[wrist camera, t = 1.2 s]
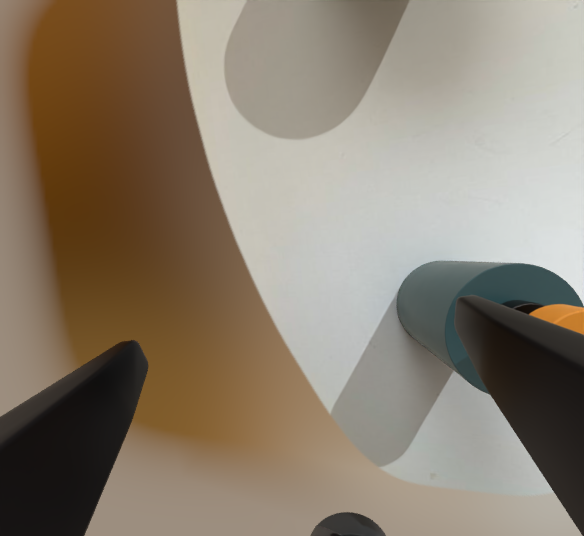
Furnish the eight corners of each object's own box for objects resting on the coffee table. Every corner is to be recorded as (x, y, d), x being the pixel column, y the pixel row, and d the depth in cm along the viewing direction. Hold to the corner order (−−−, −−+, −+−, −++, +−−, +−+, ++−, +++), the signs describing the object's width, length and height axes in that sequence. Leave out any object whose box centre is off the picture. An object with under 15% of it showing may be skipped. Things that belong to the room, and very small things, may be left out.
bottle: (467, 359, 24) (574, 431, 14) (384, 329, 25) (432, 378, 15) (500, 278, 24) (635, 294, 14) (415, 248, 24) (487, 242, 14)
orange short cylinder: (581, 402, 13) (617, 421, 11) (497, 371, 13) (521, 386, 12) (617, 321, 13) (657, 330, 11) (530, 291, 13) (559, 296, 11)
